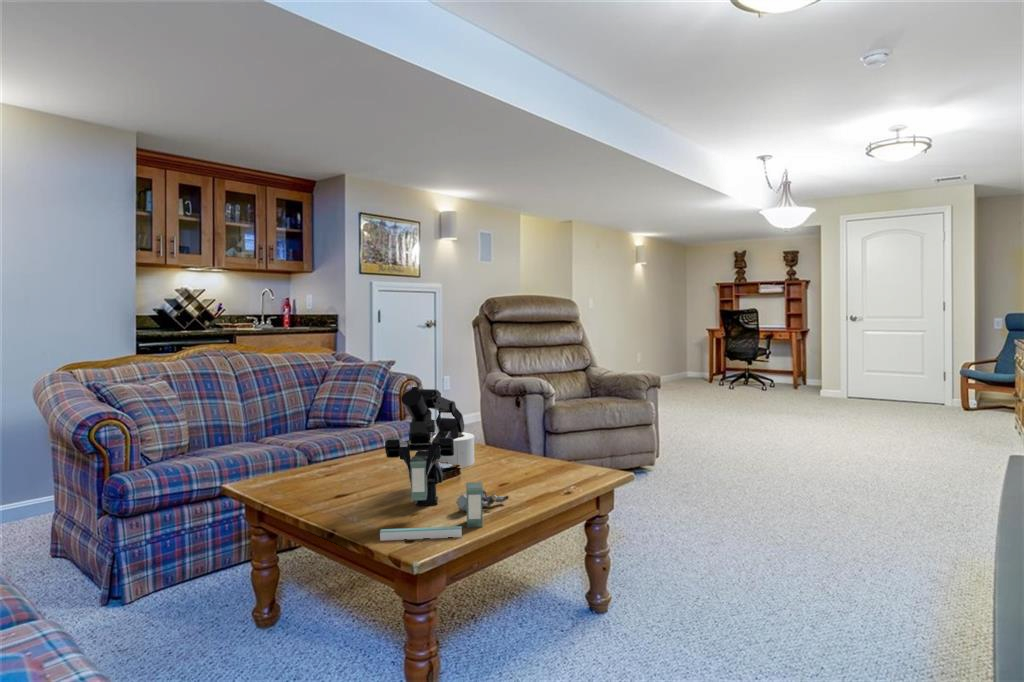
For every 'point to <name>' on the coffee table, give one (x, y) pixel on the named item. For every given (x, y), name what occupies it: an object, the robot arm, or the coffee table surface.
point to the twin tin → (474, 504)
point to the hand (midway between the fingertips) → (418, 474)
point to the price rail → (420, 533)
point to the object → (461, 451)
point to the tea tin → (418, 478)
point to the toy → (485, 500)
